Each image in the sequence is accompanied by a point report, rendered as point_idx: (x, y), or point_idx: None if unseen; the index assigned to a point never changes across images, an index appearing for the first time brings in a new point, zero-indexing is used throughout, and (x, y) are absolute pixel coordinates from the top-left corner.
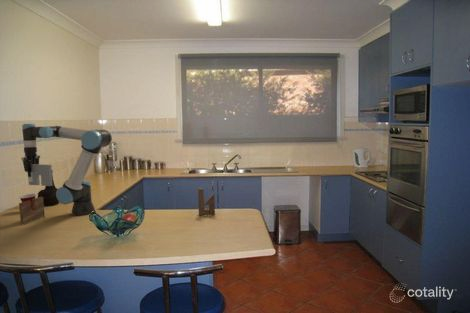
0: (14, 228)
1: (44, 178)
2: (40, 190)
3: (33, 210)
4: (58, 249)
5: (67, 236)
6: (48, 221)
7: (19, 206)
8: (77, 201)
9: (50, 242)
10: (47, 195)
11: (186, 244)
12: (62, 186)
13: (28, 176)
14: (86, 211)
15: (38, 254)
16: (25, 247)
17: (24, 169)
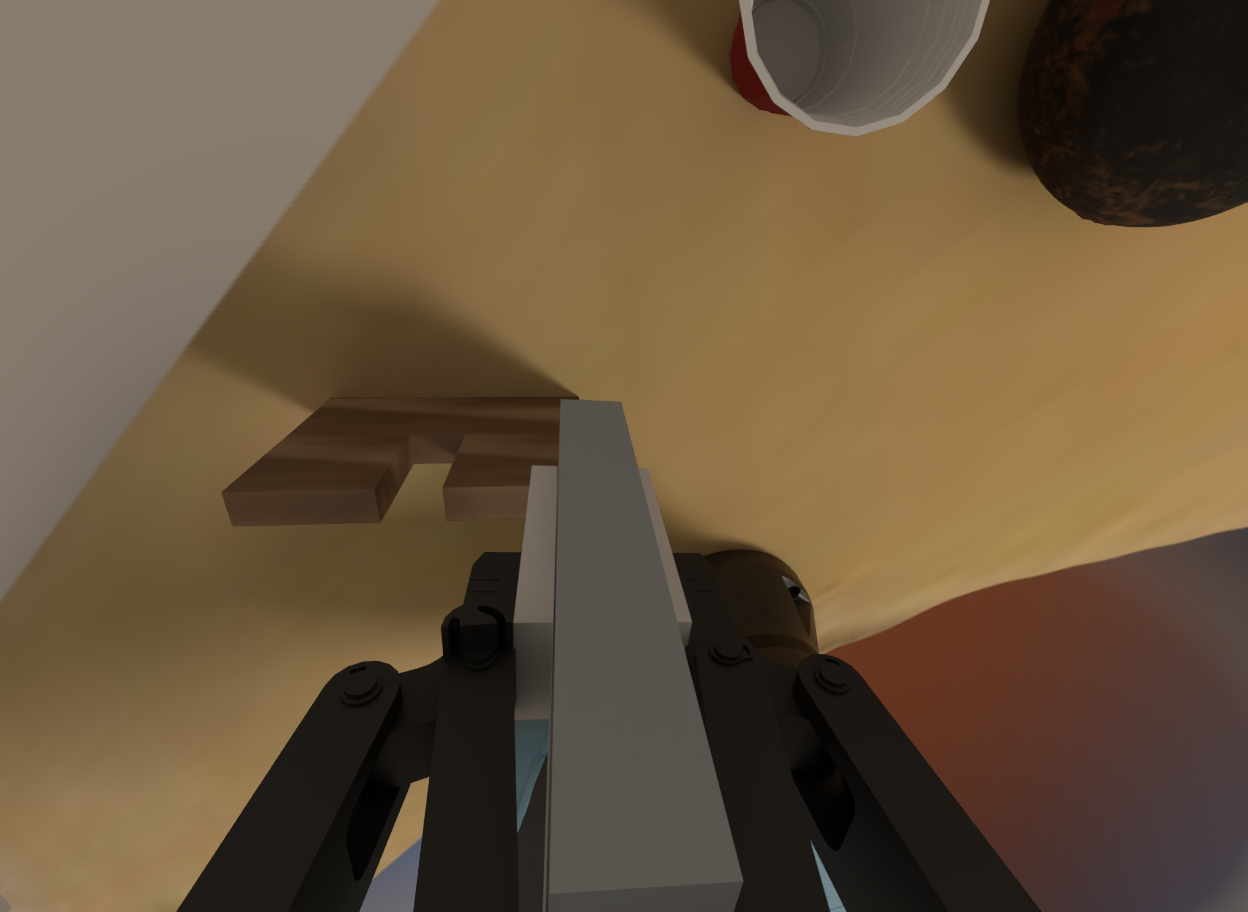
0: (234, 425)
1: (546, 807)
2: None
3: (441, 459)
4: (112, 876)
5: None
6: (477, 537)
7: (244, 474)
8: None
9: (158, 802)
10: (1089, 122)
11: None
12: (524, 894)
13: (478, 572)
14: None
15: (15, 855)
16: (30, 758)
17: (289, 745)
